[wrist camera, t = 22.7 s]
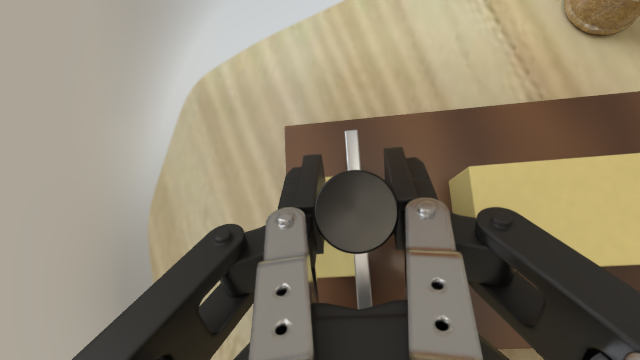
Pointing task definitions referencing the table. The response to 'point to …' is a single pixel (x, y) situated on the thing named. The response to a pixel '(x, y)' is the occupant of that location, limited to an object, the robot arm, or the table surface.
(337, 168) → the butter board
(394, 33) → the table surface
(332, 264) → the butter pat
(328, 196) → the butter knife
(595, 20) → the sprinkles bottle
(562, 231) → the butter block
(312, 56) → the table surface
